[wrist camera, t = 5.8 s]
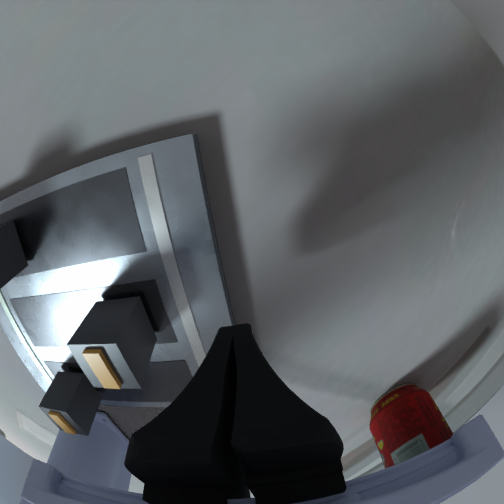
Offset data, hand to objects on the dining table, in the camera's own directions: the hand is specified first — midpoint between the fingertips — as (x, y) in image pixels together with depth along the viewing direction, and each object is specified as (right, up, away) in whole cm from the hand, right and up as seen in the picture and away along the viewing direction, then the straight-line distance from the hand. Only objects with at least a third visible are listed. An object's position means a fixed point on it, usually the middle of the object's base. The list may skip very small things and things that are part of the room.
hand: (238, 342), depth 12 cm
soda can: (+15, -12, +11) cm, 22 cm away
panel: (-11, 0, +4) cm, 12 cm away
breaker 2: (-13, -7, +5) cm, 16 cm away
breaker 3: (-7, 0, +3) cm, 7 cm away
